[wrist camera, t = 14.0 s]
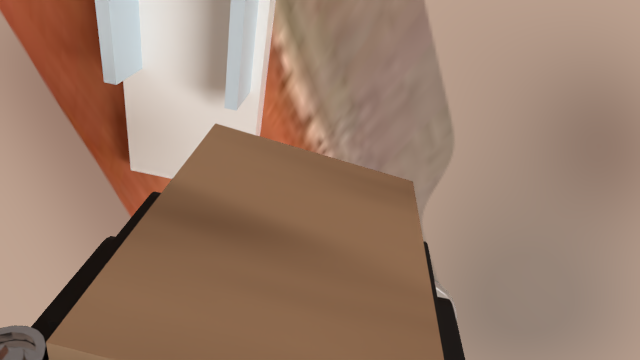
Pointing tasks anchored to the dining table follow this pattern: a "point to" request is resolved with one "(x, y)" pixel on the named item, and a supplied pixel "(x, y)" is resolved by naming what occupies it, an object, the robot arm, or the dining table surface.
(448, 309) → the robot arm
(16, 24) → the dining table surface
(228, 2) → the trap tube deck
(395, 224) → the walnut block
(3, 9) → the dining table surface
